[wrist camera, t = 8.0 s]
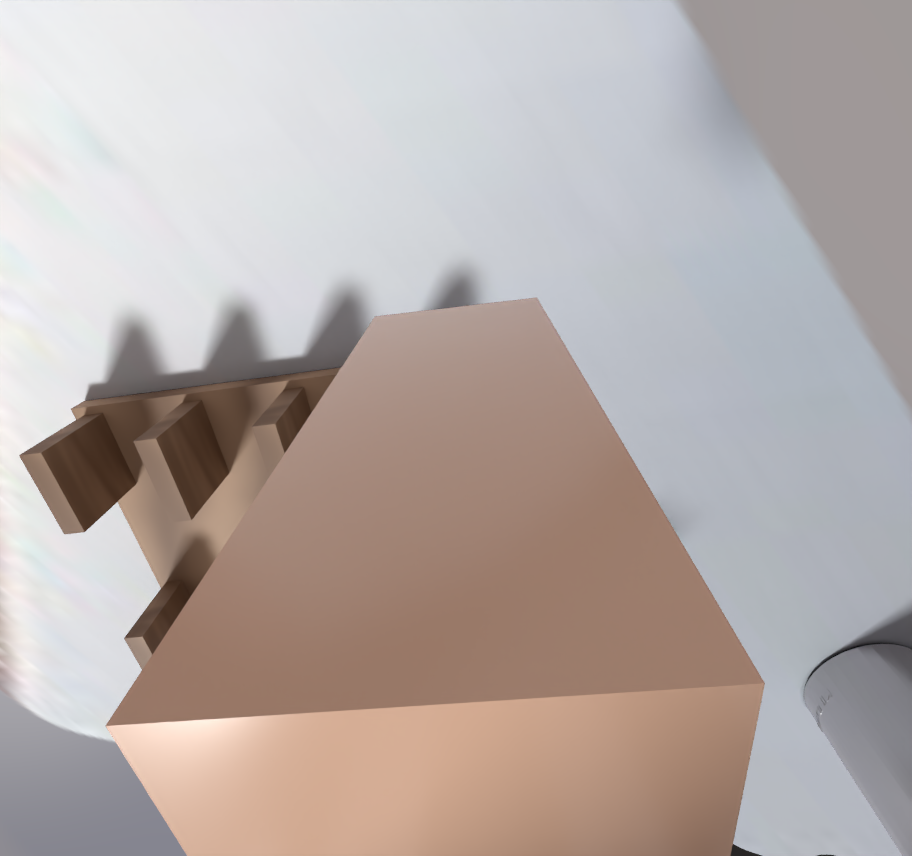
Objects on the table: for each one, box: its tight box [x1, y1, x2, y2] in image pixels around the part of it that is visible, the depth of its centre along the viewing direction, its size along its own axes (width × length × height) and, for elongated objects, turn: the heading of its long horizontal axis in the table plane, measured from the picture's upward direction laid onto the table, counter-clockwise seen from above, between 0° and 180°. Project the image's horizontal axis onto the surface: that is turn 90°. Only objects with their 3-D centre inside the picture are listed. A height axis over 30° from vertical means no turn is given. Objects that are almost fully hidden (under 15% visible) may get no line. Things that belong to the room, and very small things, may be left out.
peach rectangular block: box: [106, 298, 765, 856], centre depth 9 cm, size 3×14×8 cm, turn 7°
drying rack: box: [19, 368, 341, 670], centre depth 32 cm, size 21×19×6 cm
